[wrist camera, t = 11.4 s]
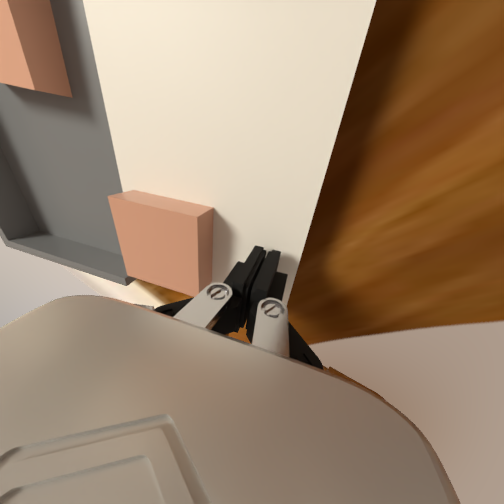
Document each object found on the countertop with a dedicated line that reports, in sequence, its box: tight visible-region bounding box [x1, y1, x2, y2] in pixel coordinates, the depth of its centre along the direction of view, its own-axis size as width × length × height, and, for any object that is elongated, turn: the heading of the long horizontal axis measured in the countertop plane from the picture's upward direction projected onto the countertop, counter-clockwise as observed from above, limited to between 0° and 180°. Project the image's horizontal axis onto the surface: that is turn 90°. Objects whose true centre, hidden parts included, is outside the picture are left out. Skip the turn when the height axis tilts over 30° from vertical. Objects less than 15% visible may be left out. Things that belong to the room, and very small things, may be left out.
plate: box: [83, 0, 376, 306], centre depth 12 cm, size 20×13×2 cm, turn 173°
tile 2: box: [108, 190, 214, 297], centre depth 14 cm, size 6×6×2 cm
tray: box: [0, 0, 137, 286], centre depth 14 cm, size 21×14×4 cm
